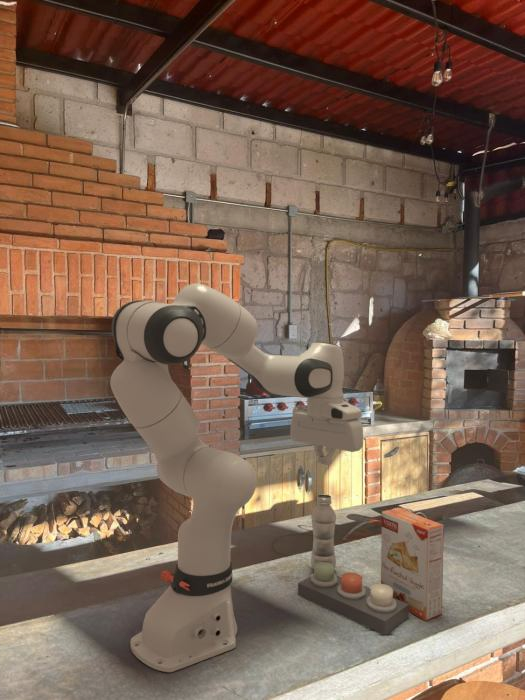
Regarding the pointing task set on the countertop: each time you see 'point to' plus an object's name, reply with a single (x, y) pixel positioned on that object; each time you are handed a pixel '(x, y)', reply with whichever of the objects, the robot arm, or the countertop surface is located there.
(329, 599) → the button panel
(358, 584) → the button orange
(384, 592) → the button cream
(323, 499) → the plastic bottle
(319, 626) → the countertop surface
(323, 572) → the button sage
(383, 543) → the cracker box
